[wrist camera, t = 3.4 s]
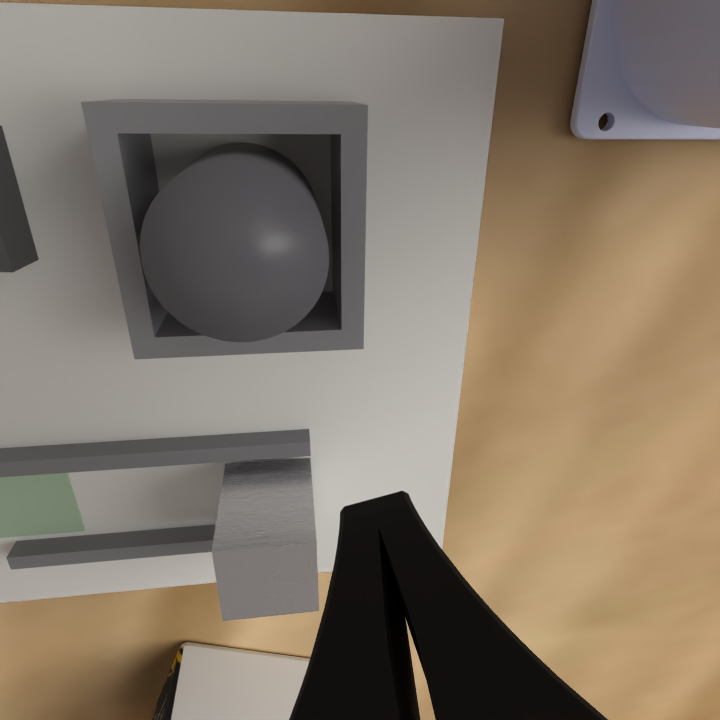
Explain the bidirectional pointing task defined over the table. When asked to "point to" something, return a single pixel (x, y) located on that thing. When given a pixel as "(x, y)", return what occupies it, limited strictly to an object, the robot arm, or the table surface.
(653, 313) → the table surface
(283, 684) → the medicine bottle
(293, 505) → the slider knob
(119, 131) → the panel
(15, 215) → the rocker
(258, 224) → the push button
